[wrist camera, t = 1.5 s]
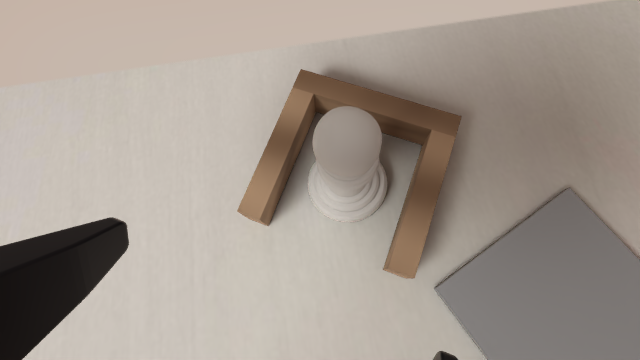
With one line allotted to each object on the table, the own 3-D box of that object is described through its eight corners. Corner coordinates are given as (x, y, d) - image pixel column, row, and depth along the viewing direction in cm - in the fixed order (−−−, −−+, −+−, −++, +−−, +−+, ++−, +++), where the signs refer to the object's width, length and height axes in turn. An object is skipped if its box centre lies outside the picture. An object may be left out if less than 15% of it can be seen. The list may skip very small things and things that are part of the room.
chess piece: (297, 208, 23) (270, 165, 14) (323, 139, 24) (313, 60, 15) (373, 234, 22) (394, 205, 13) (395, 161, 23) (428, 91, 15)
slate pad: (569, 468, 18) (574, 473, 17) (433, 288, 21) (435, 288, 20) (713, 342, 19) (721, 343, 18) (565, 189, 22) (569, 187, 21)
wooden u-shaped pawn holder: (406, 278, 21) (414, 278, 18) (248, 218, 23) (236, 211, 20) (449, 133, 23) (461, 116, 21) (304, 89, 25) (300, 69, 23)
